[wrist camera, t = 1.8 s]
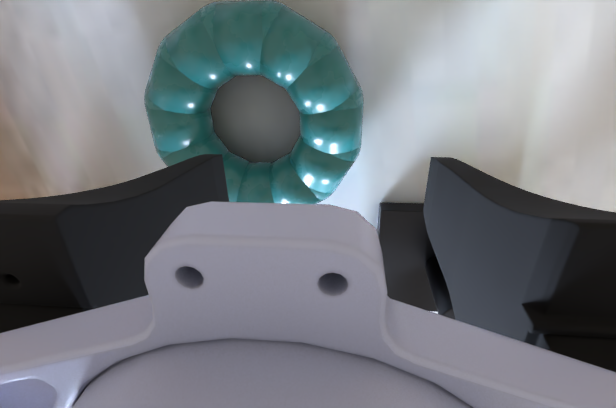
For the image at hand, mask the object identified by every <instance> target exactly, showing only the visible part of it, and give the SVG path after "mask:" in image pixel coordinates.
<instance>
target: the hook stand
mask: <svg viewBox="0 0 616 408" xmlns="http://www.w3.org/2000/svg"><path fill="white" fill-rule="evenodd" d="M423 207H424V204H413V203H380V205H379V217H378V229H377V233H378V237H379V242H380V246H381V250H382V256H383V264H384V271H385V279H386V286H387V296H388V297H389V298H390V299H393V300H396V301H399V302H402V303H405V304H408V305H411V306H414V307H418V308H421V309H424V310H427V311H438V314H439V315H442V316H445V317H448V318H451V319H454V320H456V319H455V315H454V311H453V306H452V302H451V298H450V294H449V290H448V287H447V284H446V281H445V278H444V276H443V273H442V270H441V268H440V265H439V263H438V260H437V257H436V255H435V252H434V249H433V247H432V244H431V241H430V239H429V236H428V233H427V228H426V224H425V218H424V213H423Z"/></svg>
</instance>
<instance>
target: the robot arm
mask: <svg viewBox="0 0 616 408" xmlns="http://www.w3.org/2000/svg"><path fill="white" fill-rule="evenodd" d="M423 213H424V218H425V224H426V228H427V233H428V236H429V239H430V241H431V244H432V247H433V249H434V252H435V255H436V257H437V260H438V263H439V265H440V268H441V270H442V273H443V276H444V278H445V281H446V284H447V287H448V290H449V294H450V298H451V302H452V306H453V311H454V315H455V319H456V320H454V319H451V318H448V317H445V316H442V315H439V314H436V313H433V312H430V311H427V310H424V309H421V308H418V307H414V306H411V305H408V304H405V303H402V302H399V301H396V300H393V299H390V298H389V297H388V296H387V286H386V279H385V271H384V264H383V256H382V250H381V246H380V242H379V237H378V233H377V229H376V228H374V227H373V226H372V225H371V224H370V223H369V222H368V221H367V220H366V219H365V218H364V217H362V216H361V215H360V214H359V213H358V212H356V211H352V210H348V209H345V208H341V207H337V206H333V205H325V204H287V203H250V202H229V197H228V190H227V184H226V177H225V170H224V163H223V157H222V154H203V155H198V156H195V157H192V158H189V159H187V160H184V161H182V162H179V163H177V164H174V165H172V166H169V167H167V168H164V169H161V170H159V171H156V172H153V173H150V174H148V175H145V176H142V177H140V178H136V179H133V180H130V181H127V182H123V183H119V184H116V185H112V186H108V187H104V188H99V189H93V190H88V191H83V192H78V193H72V194H66V195H58V196H50V197H41V198H30V199H15V200H0V408H616V213H615V212H608V211H602V210H597V209H592V208H587V207H582V206H578V205H573V204H569V203H565V202H561V201H557V200H554V199H550V198H546V197H543V196H540V195H537V194H534V193H531V192H528V191H525V190H523V189H520V188H517V187H515V186H512V185H510V184H508V183H505V182H503V181H501V180H498V179H496V178H494V177H492V176H490V175H488V174H486V173H484V172H482V171H480V170H478V169H476V168H474V167H472V166H470V165H468V164H466V163H464V162H461V161H459V160H457V159H454V158H448V157H431V161H430V168H429V174H428V181H427V188H426V194H425V201H424V207H423Z"/></svg>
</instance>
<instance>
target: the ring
mask: <svg viewBox="0 0 616 408" xmlns="http://www.w3.org/2000/svg"><path fill="white" fill-rule="evenodd" d="M237 75H262V76H264V77H266V78H267V79H269V80H271V81H273V82H274V83H276V84H278V85H279V86H281V87H283V88H285V89H286V90H287V92H288V94H289V95H290V97H291V99H292V100H293V102H294V103H295V105H296V107H297V108H298V110H299V112H300V137H299V138H298V140H297V142H296V144H295V145H294V147H293V149H292V151H291V153H289V154H287V155H285V156H283V157H282V158H280V159H278V160H276V161H274V162H273V163H270V162H249V161H247V160H245V159H243V158H241V157H239V156H237V155H235V154H234V153H232V152H230V151H228V149H227V148H226V147H225V145H224V144H223V143H222V141H221V140H220V139H219V137H218V136H217V134H216V133H215V132H214V128H213V122H212V115H211V109H210V107H211V105H212V102H213V100H214V98H215V95H216V93H217V90H218V88H219V87H220V86H222V85H223V84H225V83H226V82H228V81H229V80H231V79H232V78H234V77H235V76H237ZM144 101H145V108H146V112H147V116H148V120H149V124H150V128H151V133H152V137H153V141H154V145H155V148H156V151H157V153H158V155H159V156H160V158H161V159H162V160H163V161H164V163H165V164H166V165H167V166H168V167H169V166H172V165H174V164H177V163H179V162H182V161H184V160H187V159H189V158H192V157H195V156H198V155H203V154H222V157H223V163H224V170H225V177H226V184H227V190H228V197H229V202H250V203H287V204H317V203H319V202H321V201H323V200H325V199H327V198H328V197H329V196H330V195H331V194H332V193H333V192H334V191H335V190H336V188H337V187H338V185H339V184H340V182H341V181H342V179H343V178H344V176H345V175H346V173H347V172H348V170H349V169H350V167H351V166H352V164H353V163H354V162H355V160H356V158H357V157H358V155H359V152H360V148H361V138H362V118H363V94H362V90H361V87H360V85H359V83H358V81H357V79H356V77H355V75H354V73H353V72H352V70H351V68H350V66H349V64H348V62H347V60H346V58H345V56H344V54H343V52H342V50H341V49H340V47H339V45H338V43H337V41H336V40H335V39H334V38H333V36H332V35H331V34H330V33H328V32H327V31H326V30H324V29H322V28H321V27H319V26H317V25H316V24H314V23H313V22H311V21H309V20H308V19H306V18H305V17H303V16H301V15H300V14H298V13H296V12H295V11H293V10H292V9H290V8H288V7H287V6H285V5H283V4H281V3H279V2H276V1H272V0H255V1H219V2H213V3H210V4H208V5H206V6H204V7H203V8H201V9H200V10H199V11H197V12H196V13H195V14H194V15H192V16H191V17H190V18H188V19H187V20H186V21H185V22H183V23H182V24H181V25H179V26H178V27H177V28H176V29H174V30H173V31H172V32H170V33H169V34H168V35H167V36H166V37H165V38H164V39H163V40H162V42H161V43H160V45H159V47H158V50H157V53H156V56H155V60H154V63H153V66H152V70H151V73H150V76H149V80H148V83H147V86H146V89H145V95H144Z"/></svg>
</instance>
